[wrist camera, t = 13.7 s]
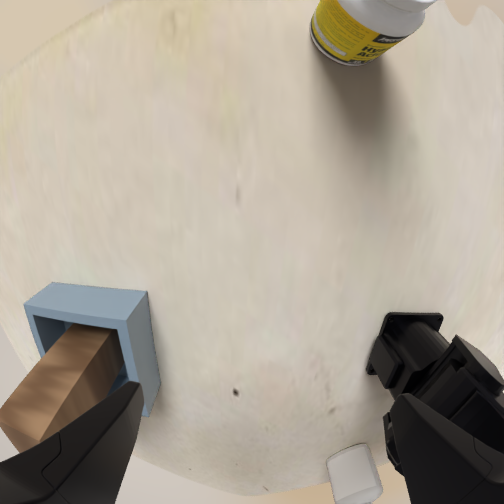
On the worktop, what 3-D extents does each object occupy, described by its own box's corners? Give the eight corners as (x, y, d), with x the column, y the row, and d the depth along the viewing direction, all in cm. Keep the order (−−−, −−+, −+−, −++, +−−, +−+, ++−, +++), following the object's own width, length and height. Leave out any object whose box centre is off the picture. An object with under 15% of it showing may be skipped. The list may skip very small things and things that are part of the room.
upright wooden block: (117, 323, 22) (39, 440, 9) (125, 361, 23) (67, 477, 10) (78, 317, 22) (-6, 417, 9) (88, 354, 23) (21, 455, 10)
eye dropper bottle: (327, 449, 28) (345, 531, 17) (371, 440, 28) (397, 516, 16) (324, 465, 29) (339, 539, 18) (364, 457, 29) (386, 527, 18)
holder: (147, 291, 21) (126, 320, 17) (161, 387, 24) (150, 421, 20) (52, 282, 21) (23, 303, 17) (77, 371, 24) (58, 398, 20)
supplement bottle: (344, 80, 17) (413, 29, 8) (292, 26, 16) (321, -55, 6) (391, 49, 16) (467, 1, 7) (343, -1, 15) (392, -72, 5)
